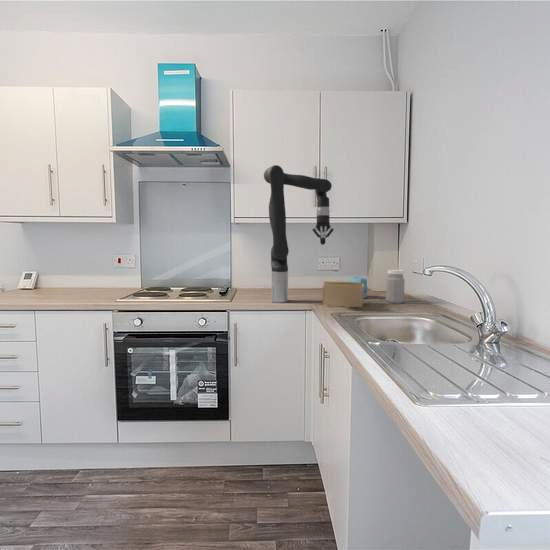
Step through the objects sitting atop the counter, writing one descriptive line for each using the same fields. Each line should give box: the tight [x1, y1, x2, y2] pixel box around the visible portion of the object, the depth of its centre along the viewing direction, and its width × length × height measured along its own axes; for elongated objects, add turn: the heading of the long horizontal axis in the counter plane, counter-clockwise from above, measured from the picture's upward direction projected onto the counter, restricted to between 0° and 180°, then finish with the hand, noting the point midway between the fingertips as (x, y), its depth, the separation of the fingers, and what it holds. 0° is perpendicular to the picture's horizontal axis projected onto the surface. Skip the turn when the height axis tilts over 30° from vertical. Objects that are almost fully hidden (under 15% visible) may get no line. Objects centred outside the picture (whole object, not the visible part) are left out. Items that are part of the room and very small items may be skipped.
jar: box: [385, 269, 406, 304], centre depth 220 cm, size 10×10×18 cm
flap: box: [323, 280, 361, 286], centre depth 201 cm, size 19×1×10 cm
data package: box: [349, 276, 368, 299], centre depth 238 cm, size 12×4×12 cm, turn 22°
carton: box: [322, 283, 365, 308], centre depth 214 cm, size 21×15×11 cm
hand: (322, 244), depth 233 cm, fingers closed
